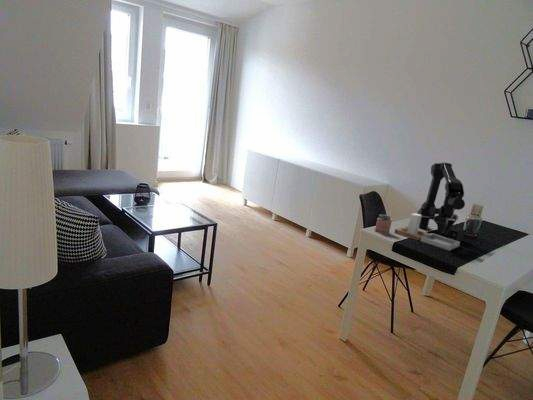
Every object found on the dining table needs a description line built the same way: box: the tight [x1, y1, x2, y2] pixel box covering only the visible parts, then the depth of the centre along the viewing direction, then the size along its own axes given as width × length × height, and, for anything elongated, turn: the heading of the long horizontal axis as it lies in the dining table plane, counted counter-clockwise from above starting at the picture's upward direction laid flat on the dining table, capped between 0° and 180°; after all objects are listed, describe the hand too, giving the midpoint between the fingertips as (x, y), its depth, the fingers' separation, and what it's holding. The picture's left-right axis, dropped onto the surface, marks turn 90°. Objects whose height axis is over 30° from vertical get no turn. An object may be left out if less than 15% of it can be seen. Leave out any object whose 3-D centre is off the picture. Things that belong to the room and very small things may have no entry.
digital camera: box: [446, 227, 466, 243], centre depth 208 cm, size 10×5×7 cm, turn 131°
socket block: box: [394, 226, 430, 241], centre depth 208 cm, size 14×14×2 cm
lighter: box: [374, 213, 393, 235], centre depth 205 cm, size 8×3×10 cm, turn 84°
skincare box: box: [406, 212, 422, 236], centre depth 207 cm, size 6×4×12 cm
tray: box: [420, 232, 461, 252], centre depth 198 cm, size 15×15×3 cm
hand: (442, 233), depth 197 cm, fingers open, 9 cm apart
